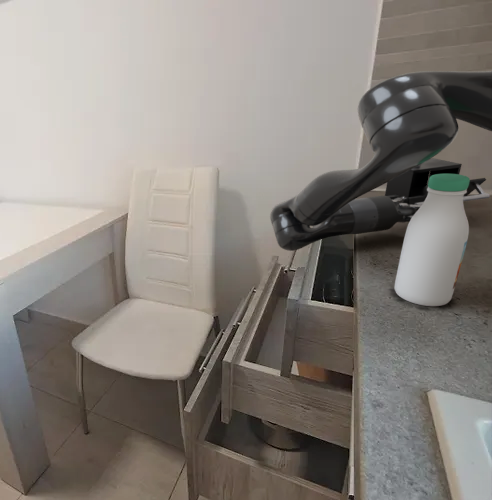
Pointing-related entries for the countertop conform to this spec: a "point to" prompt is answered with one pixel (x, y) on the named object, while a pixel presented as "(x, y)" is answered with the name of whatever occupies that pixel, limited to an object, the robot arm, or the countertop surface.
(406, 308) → the countertop surface
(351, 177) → the robot arm
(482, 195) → the oven door
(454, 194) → the milk bottle
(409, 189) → the black box with rod
